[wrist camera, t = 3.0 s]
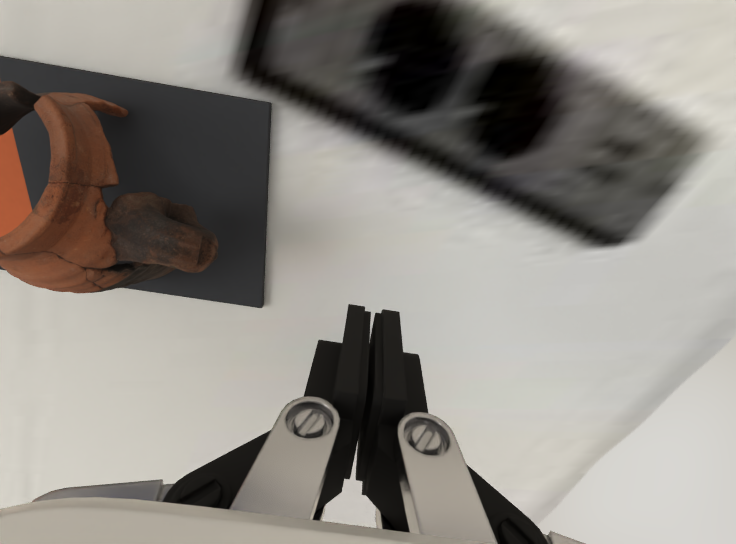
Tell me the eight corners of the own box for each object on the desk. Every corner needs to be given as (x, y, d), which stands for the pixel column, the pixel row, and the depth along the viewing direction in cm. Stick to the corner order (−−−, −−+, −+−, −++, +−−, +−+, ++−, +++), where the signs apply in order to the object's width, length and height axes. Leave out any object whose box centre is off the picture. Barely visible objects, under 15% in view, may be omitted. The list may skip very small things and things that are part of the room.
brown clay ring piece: (71, 272, 23) (-129, 257, 15) (113, 129, 23) (-61, 36, 15) (239, 325, 20) (112, 342, 12) (284, 165, 21) (187, 78, 13)
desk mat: (-276, 8, 17) (-290, 6, 17) (271, 102, 18) (269, 102, 18) (-160, 242, 22) (-169, 244, 22) (263, 305, 23) (261, 308, 23)
